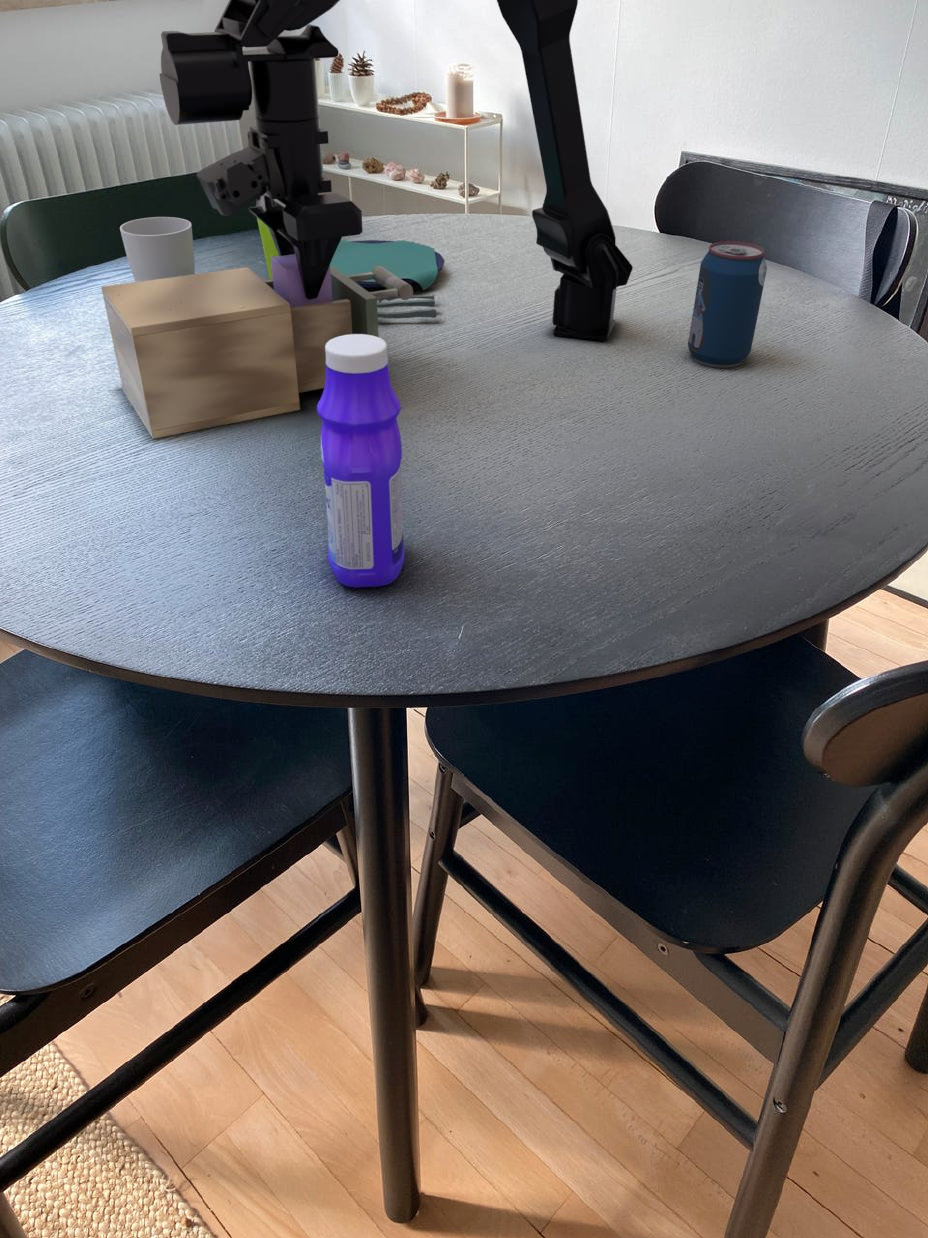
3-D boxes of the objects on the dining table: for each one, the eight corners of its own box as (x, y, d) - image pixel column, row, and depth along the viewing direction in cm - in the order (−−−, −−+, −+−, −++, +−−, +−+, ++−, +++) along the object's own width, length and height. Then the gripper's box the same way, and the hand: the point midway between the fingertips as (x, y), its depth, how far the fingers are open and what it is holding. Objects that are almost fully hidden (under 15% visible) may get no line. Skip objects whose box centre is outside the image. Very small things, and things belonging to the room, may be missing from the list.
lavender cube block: (316, 291, 98) (313, 251, 95) (332, 304, 95) (330, 263, 92) (274, 297, 96) (270, 256, 94) (290, 311, 93) (286, 269, 90)
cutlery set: (441, 253, 138) (441, 236, 137) (453, 325, 115) (453, 306, 113) (304, 253, 137) (302, 237, 136) (286, 326, 113) (285, 307, 112)
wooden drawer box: (259, 366, 103) (247, 266, 97) (300, 409, 95) (290, 303, 88) (122, 390, 98) (100, 286, 91) (152, 439, 89) (130, 327, 83)
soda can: (759, 358, 107) (782, 248, 100) (728, 375, 103) (749, 261, 96) (706, 342, 111) (725, 235, 104) (674, 358, 107) (690, 247, 100)
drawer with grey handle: (379, 339, 108) (376, 258, 103) (423, 374, 100) (422, 289, 95) (219, 367, 101) (207, 282, 95) (254, 407, 93) (242, 317, 87)
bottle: (331, 543, 75) (313, 324, 64) (403, 540, 75) (397, 323, 65) (328, 596, 69) (308, 365, 58) (406, 593, 69) (400, 364, 59)
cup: (216, 304, 119) (204, 220, 113) (180, 325, 113) (166, 238, 107) (160, 296, 121) (146, 214, 115) (122, 316, 115) (105, 230, 109)
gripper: (171, 106, 89) (197, 276, 98) (231, 142, 76) (255, 334, 85) (284, 99, 93) (299, 262, 102) (360, 131, 80) (369, 315, 89)
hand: (302, 291), depth 95 cm, fingers closed on lavender cube block, 4 cm apart
